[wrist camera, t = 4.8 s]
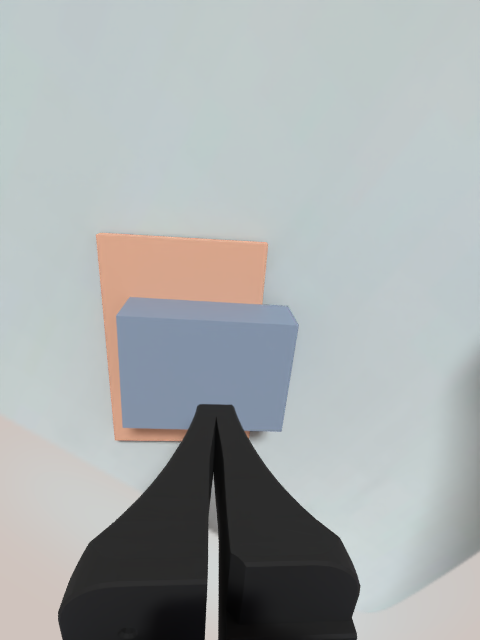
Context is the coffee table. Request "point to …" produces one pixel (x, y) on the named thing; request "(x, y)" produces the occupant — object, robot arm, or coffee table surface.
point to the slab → (203, 361)
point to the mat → (171, 290)
